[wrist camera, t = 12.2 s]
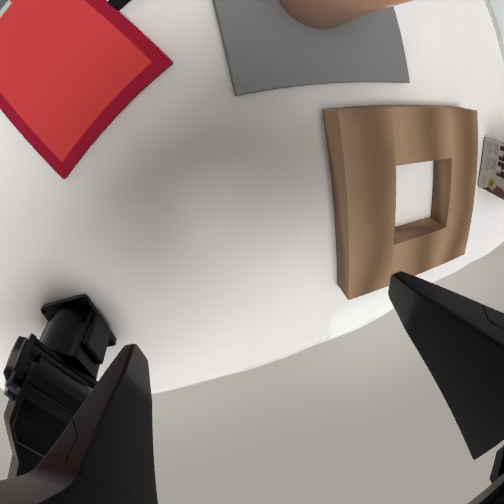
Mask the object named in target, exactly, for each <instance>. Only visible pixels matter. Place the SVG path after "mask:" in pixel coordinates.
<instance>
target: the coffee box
mask: <svg viewBox="0 0 504 504" xmlns="http://www.w3.org/2000/svg"><path fill="white" fill-rule="evenodd" d="M478 185H479V187H481V188H483V189H485V190H487V191H489V192H491V193H492V194H494V195H496V196H498V197H500V198H501V199H503V200H504V143H501V142H498V141H496V140H493V139H490V138H487V137H485V139H484V149H483V156H482V164H481V170H480V176H479V181H478Z"/></svg>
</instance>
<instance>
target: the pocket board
mask: <svg viewBox="0 0 504 504" xmlns="http://www.w3.org/2000/svg"><path fill="white" fill-rule="evenodd" d="M323 116H324V122H325V129H326V136H327V143H328V151H329V160H330V168H331V178H332V188H333V200H334V213H335V228H336V247H337V279H338V286H339V287H340V288H341V290H342V291H343V293H344V294H345V296H346V297H347V299H348V300H350V299H353V298H356V297H359V296H362V295H365V294H367V293H370V292H373V291H376V290H378V289H381V288H384V287H386V286H389V284H390V277H391V275H392V274H394V273H396V272H399V271H402V272H405V273H408V274H410V275H413V276H415V275H417V274H420V273H422V272H425V271H427V270H429V269H432V268H434V267H437V266H439V265H441V264H443V263H446V262H448V261H450V260H453V259H455V258H457V257H459V256H461V255H464V253H465V249H466V244H467V240H468V234H469V229H470V223H471V217H472V211H473V203H474V195H475V186H476V174H477V155H478V121H477V111H475V110H470V109H465V108H460V107H449V106H432V105H375V106H356V107H343V108H332V109H323ZM432 160H434V178H433V197H432V210H431V217H430V218H427V219H423V220H420V221H416V222H413V223H410V224H406V225H403V226H399V227H396V228H395V207H396V166H397V165H404V164H411V163H417V162H425V161H432Z"/></svg>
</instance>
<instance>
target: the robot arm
mask: <svg viewBox="0 0 504 504" xmlns="http://www.w3.org/2000/svg"><path fill="white" fill-rule="evenodd" d="M388 293H389V298H390V300H391V302H392V304H393V306H394V308H395V310H396V312H397V314H398V316H399V318H400V320H401V322H402V324H403V326H404V328H405V330H406V332H407V333H408V335H409V337H410V338H411V340H412V342H413V343H414V345H415V347H416V348H417V350H418V351H419V353H420V355H421V357H422V358H423V360H424V362H425V363H426V365H427V367H428V369H429V371H430V372H431V374H432V376H433V378H434V379H435V381H436V383H437V385H438V387H439V389H440V390H441V392H442V394H443V396H444V398H445V400H446V402H447V404H448V406H449V408H450V409H451V412H452V414H453V416H454V417H455V420H456V422H457V424H458V426H459V428H460V431H461V433H462V435H463V437H464V439H465V442H466V444H467V446H468V448H469V451H470V453H471V455H472V458H473V459H474V460H475V459H477V458H478V457H480V456H481V455H483V454H484V453H486V452H487V451H489V450H490V449H492V448H493V447H495V446H496V445H497V444H499V443H500V442H501V441H503V440H504V313H502V312H500V311H497V310H495V309H492V308H490V307H488V306H485V305H483V304H482V305H481V303H478V302H476V301H474V300H471V299H469V298H467V297H464V296H462V295H460V294H457V293H455V292H452V291H450V290H447V289H445V288H443V287H440V286H438V285H435V284H433V283H430V282H428V281H425V280H423V279H420V278H418V277H415V276H413V275H410V274H408V273H405V272H402V271H399V272H396V273H394V274H392V275H391V277H390V284H389V291H388ZM83 300H85V301H83ZM41 312H42V313H43V315H44V316H45V317H46V319H47V320H48V323H47V325H46V327H45V329H44V331H43V333H42V335H41V337H40V340H38V339H37V338H36V336H35V335H34V334H32V333H31V334H30V336H29V337H28V338H26V337H25V338H24V337H20V336H19V337H18V339H17V341H16V343H15V345H14V347H13V349H12V351H11V353H10V356H9V358H8V361H7V363H6V366H5V369H4V372H3V373H4V376H5V379H6V382H5V386H6V387H5V391H4V395H6V396H7V397H8V398H9V401H8V404H7V407H6V410H5V413H4V420H5V425H6V429H7V434H8V438H9V442H10V446H11V449H12V453H13V455H12V460H11V464H10V468H9V473H8V478H7V479H6V480H1V481H0V504H158V501H157V493H156V482H155V471H154V455H153V434H152V397H151V388H150V377H149V366H148V361H147V358H146V357H145V355H144V354H143V353H142V351H141V350H140V348H139V347H138V346H137V345H136V344H129V345H125V346H124V347H123V348H122V350H121V351H120V352H119V354H118V355H117V356H116V358H115V359H114V360H113V362H112V363H111V364H110V366H109V367H108V369H107V370H106V371H105V373H104V374H103V376H102V377H101V378H100V380H99V381H96V378H97V374H98V370H99V365H100V364H102V363H103V360H104V356H105V352H106V348H107V347H109V346H114V345H115V344H116V339H115V337H114V336H113V334H112V333H111V331H110V330H109V328H108V327H107V326H106V324H105V323H104V321H103V320H102V318H101V317H100V315H99V314H98V312H97V311H96V309H95V308H94V306H93V304H92V303H91V301H90V300H89V298H88V297H87V296H86V295H80V296H76V297H72V298H68V299H65V300H61V301H57V302H53V303H50V304H46V305H43V306H42V308H41ZM490 480H491V483H492V484H491V485H490V486H489V487H488V488H487V489H485V490H484V491H483V492H482V493H481V494H479V495H478V496H477V497H476V498H474V499H473V500H472V501H471V502H469V503H468V504H504V445H503V446H502V447H501V448H500V449H499V450H498V451H497V453H496V457H495V461H494V465H493V469H492V473H491V476H490Z"/></svg>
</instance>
